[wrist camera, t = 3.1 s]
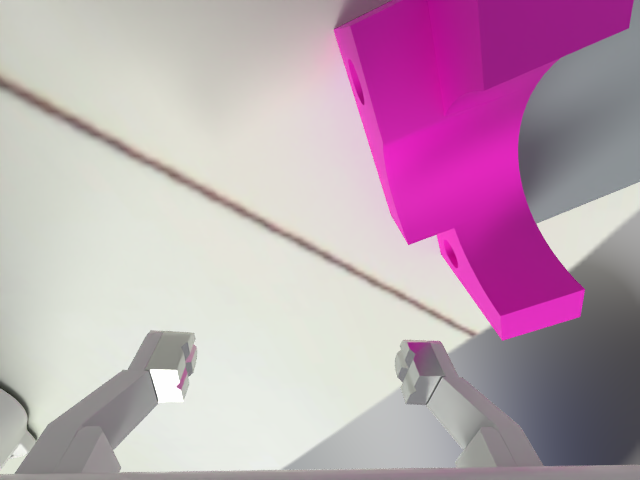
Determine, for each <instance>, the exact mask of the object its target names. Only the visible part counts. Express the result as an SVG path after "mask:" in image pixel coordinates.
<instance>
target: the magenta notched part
mask: <svg viewBox="0 0 640 480" xmlns="http://www.w3.org/2000/svg"><path fill="white" fill-rule="evenodd" d="M633 2H634V0H392V1H390V2H388V3H386V4H384V5H382V6H380V7H378V8H376V9H374V10H372V11H370V12H368V13H366V14H364V15H362V16H360V17H358V18H356V19H354V20H352V21H350V22H348V23H346V24H344V25H342V26H340V27H338V28H336V29H334V33H335V36H336V39H337V42H338V45H339V49H340V52H341V55H342V58H343V62H344V65H345V68H346V71H347V75H348V78H349V81H350V84H351V87H352V91H353V94H354V97H355V100H356V104H357V107H358V110H359V113H360V117H361V120H362V123H363V126H364V129H365V133H366V136H367V139H368V142H369V146H370V149H371V152H372V155H373V159H374V162H375V165H376V168H377V171H378V175H379V178H380V181H381V184H382V188H383V191H384V194H385V197H386V201H387V204H388V207H389V210H390V213H391V216H392V218H393V219H394V221H395V223H396V224H397V226H398V228H399V230H400V231H401V233H402V235H403V236H404V238H405V240H406V242H407V243H408V245H410V244H412V243H415V242H418V241H420V240H423V239H426V238H428V237H431V236H434V235H437V238H438V242H439V247H440V252H441V255H442V256H443V258H444V259H445V260H446V262H447V263H448V265H449V266H450V268H451V269H452V270H453V272H454V273H455V275H456V276H457V277H458V279H459V280H460V282H461V283H462V284H463V286H464V287H465V289H466V290H467V291H468V293H469V294H470V296H471V297H472V299H473V300H474V301H475V303H476V304H477V306H478V307H479V308H480V310H481V311H482V313H483V314H484V315H485V317H486V318H487V320H488V321H489V322H490V324H491V325H492V327H493V328H494V330H495V331H496V332H497V334H498V335H499V337H500V338H501V339H502V340H506V339H509V338H512V337H516V336H519V335H522V334H525V333H529V332H531V331H535V330H538V329H542V328H545V327H548V326H552V325H555V324H558V323H561V322H565V321H568V320H571V319H574V318H578V317H580V315H581V309H582V304H583V298H584V292H585V289H584V288H583V287H582V286H581V285H580V284H579V283H578V282H577V281H576V280H575V279H574V278H573V277H572V276H571V274H570V273H569V272H568V271H567V270H566V269H565V267H564V266H563V265H562V264H561V262H560V261H559V260H558V259H557V257H556V256H555V254H554V253H553V252H552V250H551V249H550V247H549V246H548V244H547V243H546V241H545V239H544V238H543V236H542V234H541V232H540V231H539V229H538V227H537V225H536V223H535V221H534V218H533V216H532V214H531V211H530V209H529V206H528V203H527V201H526V197H525V194H524V191H523V187H522V182H521V177H520V171H519V161H518V140H519V132H520V125H521V121H522V117H523V113H524V111H525V108H526V105H527V102H528V100H529V98H530V96H531V94H532V92H533V90H534V89H535V87H536V85H537V84H538V82H539V81H540V79H541V78H542V77H543V75H544V74H545V73H546V72H547V71H548V70H549V69H550V68H551V66H552V65H553V64H554V63H556V62H557V61H558V60H559V59H560V58H561V57H564V56H566V55H568V54H571V53H573V52H575V51H578V50H580V49H582V48H585V47H587V46H589V45H592V44H594V43H596V42H598V41H601V40H603V39H605V38H608V37H610V36H612V35H615V34H617V33H619V32H622V31H624V30H626V29H629V26H630V20H631V14H632V8H633Z"/></svg>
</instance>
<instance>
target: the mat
mask: <svg viewBox="0 0 640 480" xmlns="http://www.w3.org/2000/svg"><path fill="white" fill-rule="evenodd" d="M518 161H519V171H520V177H521V182H522V187H523V191H524V194H525V197H526V201H527V203H528V206H529V209H530V211H531V214H532V216H533V218H534V221H535V223H539V222H541V221H544V220H546V219H549V218H551V217H554V216H556V215H559V214H561V213H564V212H566V211H569V210H571V209H573V208H576V207H578V206H581V205H583V204H586V203H588V202H591V201H593V200H596V199H598V198H601V197H603V196H606V195H608V194H611V193H613V192H615V191H618V190H620V189H623V188H625V187H628V186H630V185H633V184H635V183H638V182H640V0H634V2H633V8H632V14H631V20H630V26H629V29H626V30H624V31H622V32H619V33H617V34H615V35H612V36H610V37H608V38H605V39H603V40H601V41H598V42H596V43H594V44H592V45H589V46H587V47H585V48H582V49H580V50H578V51H575V52H573V53H571V54H568V55H566V56H564V57H561V58H560V59H559V60H558V61H557V62H556V63H554V64H553V65H552V66H551V68H550V69H549V70H548V71H547V72H546V73H545V74H544V75H543V77H542V78H541V79H540V81H539V82H538V84H537V85H536V87H535V89H534V90H533V92H532V94H531V96H530V98H529V100H528V102H527V105H526V108H525V111H524V113H523V117H522V121H521V125H520V132H519V140H518Z"/></svg>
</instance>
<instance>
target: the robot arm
mask: <svg viewBox="0 0 640 480" xmlns="http://www.w3.org/2000/svg"><path fill="white" fill-rule="evenodd" d="M194 341H195V335H194V333H188V332H172V331H152V330H151V331H150V332H149V333H148V334H147V335H146V337H145V339H144V341H143V343H142V344H141V346H140V348H139V350H138V352H137V353H136V355H135V357H134V359H133V361H132V363H131V364H130V366H129V368H128V370H122V371H121V372H120V373H118V374H117V375H115V376H114V377H113V378H111V379H110V380H109V381H107V382H106V383H104V384H103V385H102V386H100V387H99V388H98V389H96V390H95V391H94V392H92V393H91V394H89V395H88V396H87V397H85V398H84V399H83V400H81V401H80V402H78V403H77V404H76V405H74V406H73V407H72V408H70V409H69V410H68V411H66V412H65V413H63V414H62V415H61V416H59V417H58V418H57V419H55V420H54V421H52V422H51V423H50V424H48V425H47V427H46V428H45V430H44V431H43V433H42V434H41V436H40V437H39V439H38V440H37V442H36V440H35V439H34V437H33V436H32V435H31V434H30V433H29V432H28V431H27V421H28V418H27V414H26V411H25V410H24V408H23V407H22V405H21V404H20V403H19V402H18V401H17V400H16V399H15V398H13V397H12V396H11V395H10V394H8V393H7V392H5V391H4V390H2V389H0V470H1V469H2V468H3V466H4V465H5V463H6V462H7V461H8V459H12V458H16V457H21V456H24V455H27V454H28V455H27V456H26V458H25V459H24V461H23V462H22V463H21V465H20V466H19V468H18V469H17V471H16V472H15V474H0V480H640V465H599V466H543V464H542V462H541V461H540V459H539V457H538V456H537V454H536V452H535V451H534V449H533V448H532V446H531V444H530V442H529V440H528V439H527V437H526V435H525V434H524V432H523V430H522V429H521V427H520V426H519V425H518V424H517V423H516V422H514V421H513V420H512V419H511V418H510V417H508V416H507V415H506V414H505V413H504V412H503V411H501V410H500V409H499V408H498V407H497V406H495V405H494V404H493V403H492V402H491V401H490V400H489V399H487V398H486V397H485V396H484V395H483V394H481V393H480V392H479V391H478V390H477V389H475V388H474V387H473V386H472V385H471V384H470V383H469V382H467V381H466V380H465V379H464V378H463V377H459V376H458V374H457V372H456V370H455V368H454V366H453V364H452V362H451V360H450V358H449V356H448V354H447V352H446V350H445V348H444V346H443V344H442V343H441V342H440V341H426V340H403V341H402V342H401V345H400V347H401V351H399V352H398V353H397V355H396V358H395V369H396V374H397V377H398V378H399V379H400V380H401V381H402V382H403V383H402V386H401V390H402V393H403V397H404V400H405V403H406V404H417V405H427V407H428V409H429V410H430V411H431V412H432V413H433V414H434V416H435V417H436V418H437V419H438V421H439V422H440V423H441V424H442V425H443V426H444V428H445V429H446V430H447V431H448V432H449V434H450V435H451V436H452V437H453V438H454V440H455V441H456V442H457V443H458V444H459V446H460V447H461V448H462V449H463V450H464V451H463V452H462V453H461V455H460V456H459V457H458V459H457V460H456V462H455V465H456V467H457V468H399V469H398V468H395V469H394V468H392V469H328V470H327V469H322V470H251V471H183V472H119V471H120V469H121V466H120V464H119V462H118V460H117V458H116V456H115V454H114V452H113V450H114V449H115V448H116V447H117V446H118V445H119V444H120V443H121V442H122V441H123V440H124V438H125V437H126V436H127V435H128V434H129V433H130V432H131V431H132V430H133V429H134V428H135V427H136V426H137V425H138V424H139V423H140V422H141V421H142V420H143V419H144V418H145V417H146V416H147V415H148V414H149V413H150V412H151V410H152V409H153V408H154V407H155V406H156V405H157V404H158V402H183V401H184V398H185V395H186V392H187V389H188V386H189V379H188V377H189V376H190V375H191V374H192V373H193V371H194V368H195V365H196V359H197V347H196V346H195V345H194Z"/></svg>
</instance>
